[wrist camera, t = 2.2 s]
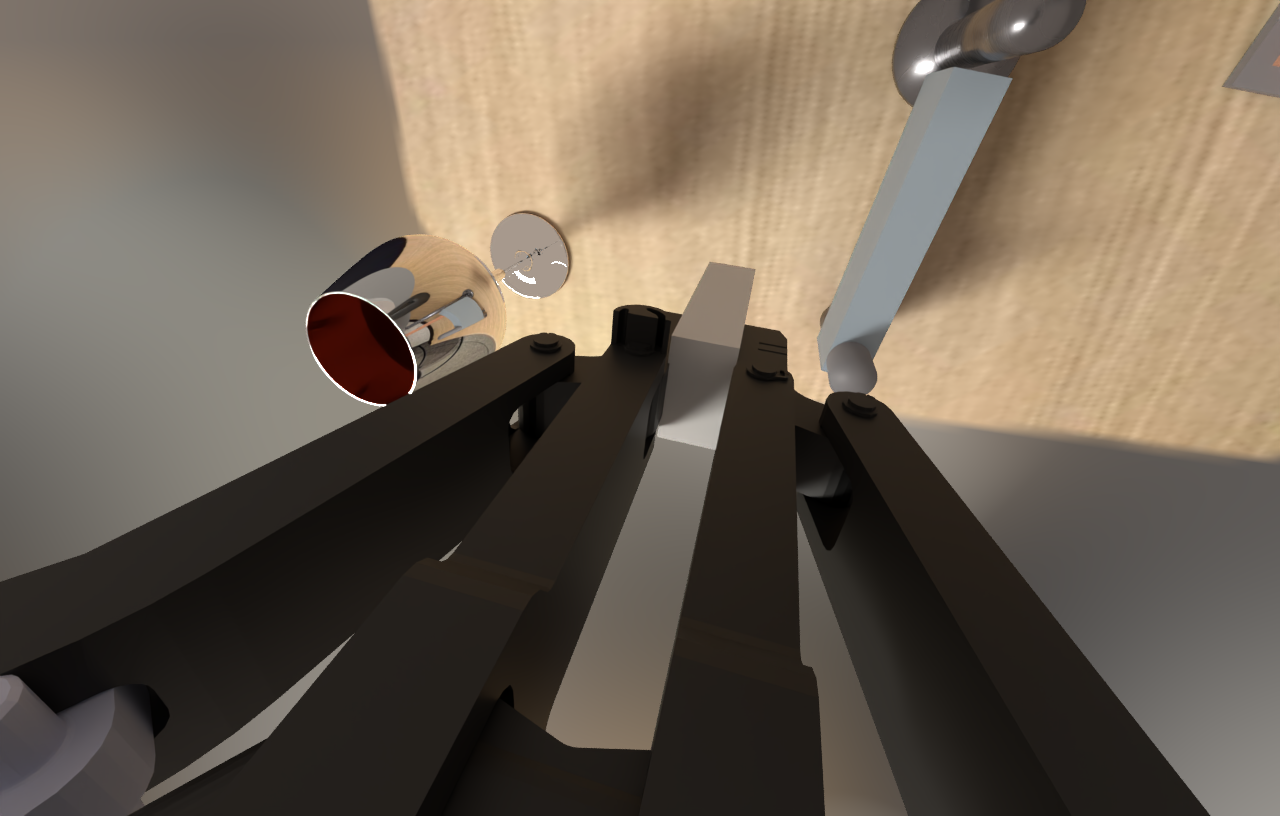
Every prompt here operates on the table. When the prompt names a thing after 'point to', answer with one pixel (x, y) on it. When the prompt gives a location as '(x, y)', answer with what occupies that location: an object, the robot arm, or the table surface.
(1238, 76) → the post
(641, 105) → the table surface
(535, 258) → the wineglass
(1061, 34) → the hinge post
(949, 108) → the gate
